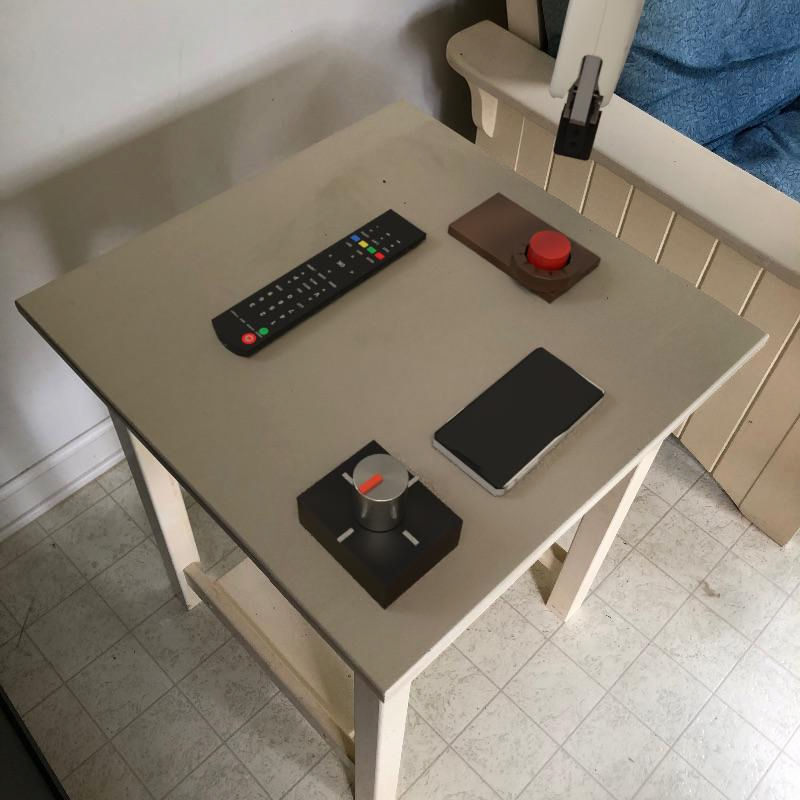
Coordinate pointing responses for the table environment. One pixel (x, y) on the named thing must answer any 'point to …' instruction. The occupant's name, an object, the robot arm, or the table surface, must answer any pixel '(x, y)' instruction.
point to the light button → (548, 250)
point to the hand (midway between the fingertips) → (572, 151)
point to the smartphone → (517, 420)
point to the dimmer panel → (379, 551)
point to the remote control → (315, 283)
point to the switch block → (519, 246)
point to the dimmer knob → (380, 492)
